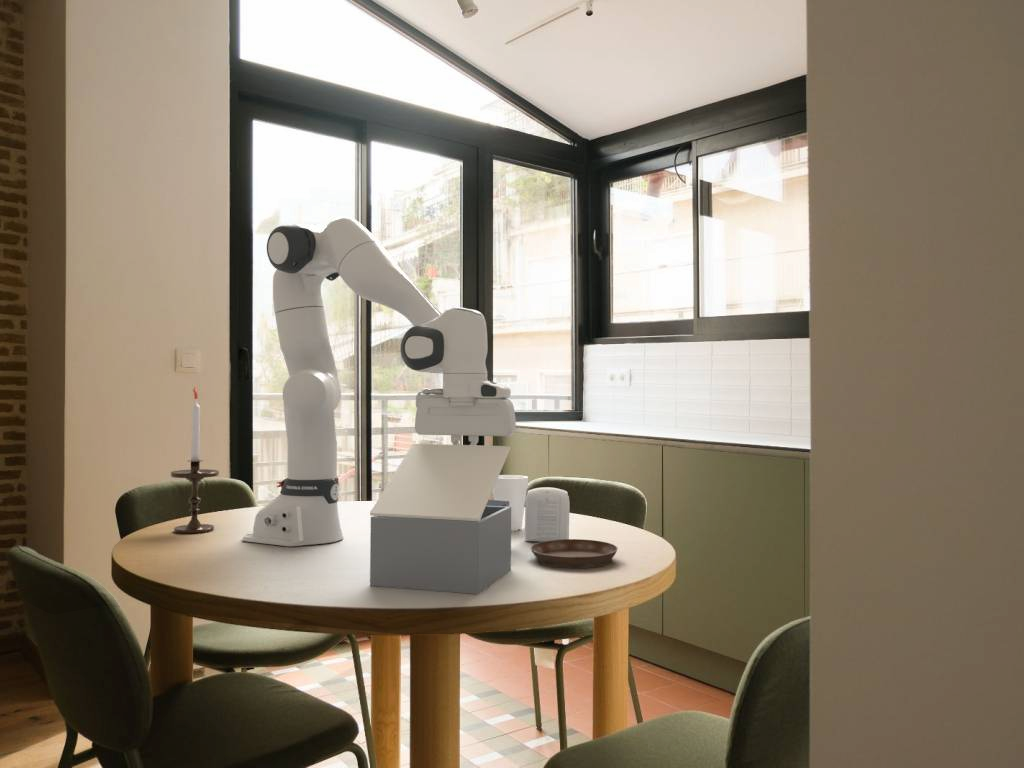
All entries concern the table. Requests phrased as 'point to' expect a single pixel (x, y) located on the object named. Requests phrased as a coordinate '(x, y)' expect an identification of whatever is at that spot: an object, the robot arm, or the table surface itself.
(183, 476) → the candlestick
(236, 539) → the table surface
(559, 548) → the plant saucer
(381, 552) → the carton
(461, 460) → the lid flap
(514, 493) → the foam cup
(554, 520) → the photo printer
